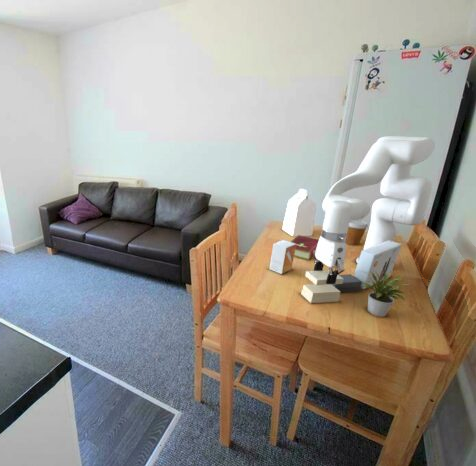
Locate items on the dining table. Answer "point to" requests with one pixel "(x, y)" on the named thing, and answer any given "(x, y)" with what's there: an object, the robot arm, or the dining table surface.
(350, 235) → the disposable coffee cup
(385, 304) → the house plant
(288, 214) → the milk
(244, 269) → the dining table surface
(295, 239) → the hardcover book
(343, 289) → the grey book stack
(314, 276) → the cream book
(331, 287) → the cream book stack
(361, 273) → the skincare box
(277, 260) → the small box
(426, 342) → the dining table surface
